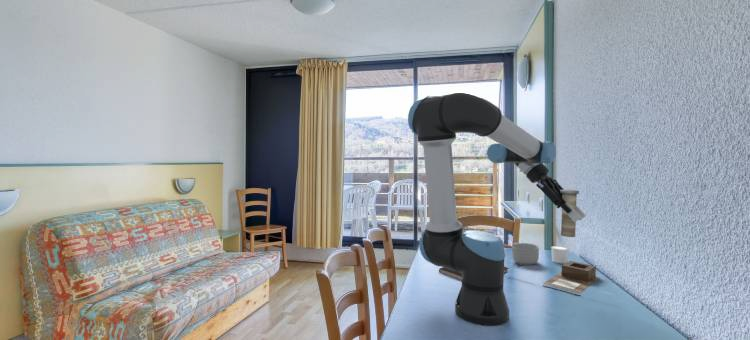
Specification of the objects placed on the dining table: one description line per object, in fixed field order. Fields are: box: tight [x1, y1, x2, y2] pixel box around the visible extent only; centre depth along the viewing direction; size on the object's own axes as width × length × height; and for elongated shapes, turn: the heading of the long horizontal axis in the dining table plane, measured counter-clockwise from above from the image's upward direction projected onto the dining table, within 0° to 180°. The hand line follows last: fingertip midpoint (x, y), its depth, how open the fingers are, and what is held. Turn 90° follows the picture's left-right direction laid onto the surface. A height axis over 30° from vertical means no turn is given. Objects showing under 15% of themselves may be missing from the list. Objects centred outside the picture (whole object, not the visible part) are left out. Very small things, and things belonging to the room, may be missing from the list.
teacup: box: [511, 242, 540, 267], centre depth 154 cm, size 14×11×8 cm
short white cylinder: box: [550, 245, 570, 264], centre depth 154 cm, size 7×7×7 cm
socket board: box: [542, 260, 601, 297], centre depth 130 cm, size 23×12×5 cm, turn 133°
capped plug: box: [560, 189, 580, 238], centre depth 125 cm, size 6×6×16 cm
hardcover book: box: [438, 266, 510, 281], centre depth 141 cm, size 16×23×2 cm
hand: (580, 218), depth 122 cm, fingers closed on capped plug, 4 cm apart
